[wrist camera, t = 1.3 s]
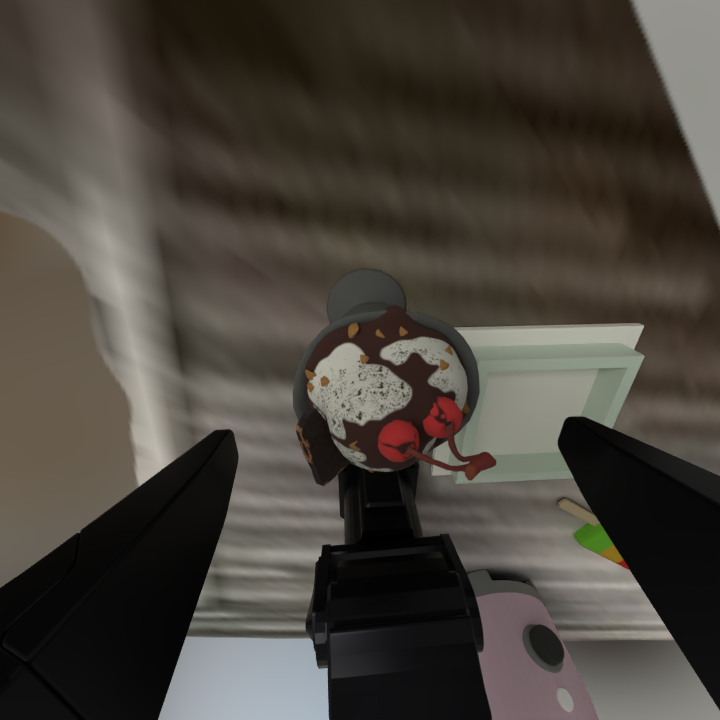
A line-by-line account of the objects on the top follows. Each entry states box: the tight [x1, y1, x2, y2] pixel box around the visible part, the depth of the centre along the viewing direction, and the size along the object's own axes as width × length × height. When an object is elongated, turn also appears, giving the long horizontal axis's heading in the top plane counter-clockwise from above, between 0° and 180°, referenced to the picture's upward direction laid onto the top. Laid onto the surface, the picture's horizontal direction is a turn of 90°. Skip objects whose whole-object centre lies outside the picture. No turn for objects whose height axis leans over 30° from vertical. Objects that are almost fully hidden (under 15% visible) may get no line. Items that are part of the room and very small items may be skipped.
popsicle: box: [558, 499, 630, 570], centre depth 32 cm, size 6×15×2 cm, turn 55°
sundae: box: [293, 269, 496, 486], centre depth 14 cm, size 7×7×15 cm
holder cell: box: [431, 323, 645, 484], centre depth 24 cm, size 13×13×2 cm
